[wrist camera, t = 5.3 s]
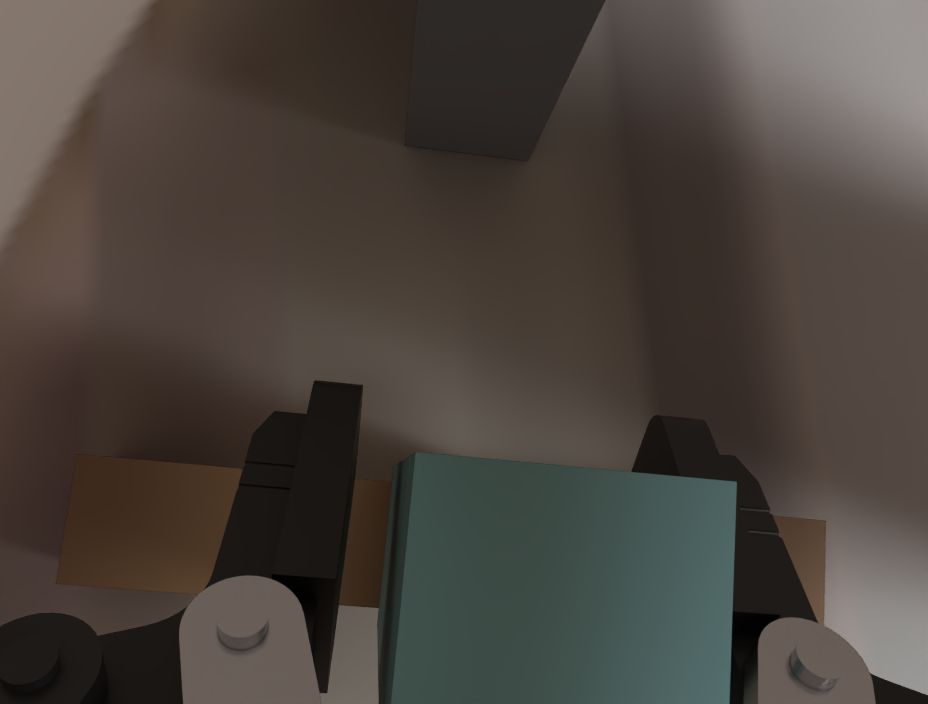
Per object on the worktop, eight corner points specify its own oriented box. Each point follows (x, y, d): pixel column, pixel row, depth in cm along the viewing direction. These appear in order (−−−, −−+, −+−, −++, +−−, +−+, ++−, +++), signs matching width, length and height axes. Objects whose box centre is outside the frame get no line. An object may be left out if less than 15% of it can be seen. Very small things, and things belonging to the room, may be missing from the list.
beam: (770, 502, 19) (1313, 535, 8) (767, 634, 19) (1341, 862, 8) (118, 443, 18) (-305, 385, 7) (96, 584, 18) (-399, 770, 6)
